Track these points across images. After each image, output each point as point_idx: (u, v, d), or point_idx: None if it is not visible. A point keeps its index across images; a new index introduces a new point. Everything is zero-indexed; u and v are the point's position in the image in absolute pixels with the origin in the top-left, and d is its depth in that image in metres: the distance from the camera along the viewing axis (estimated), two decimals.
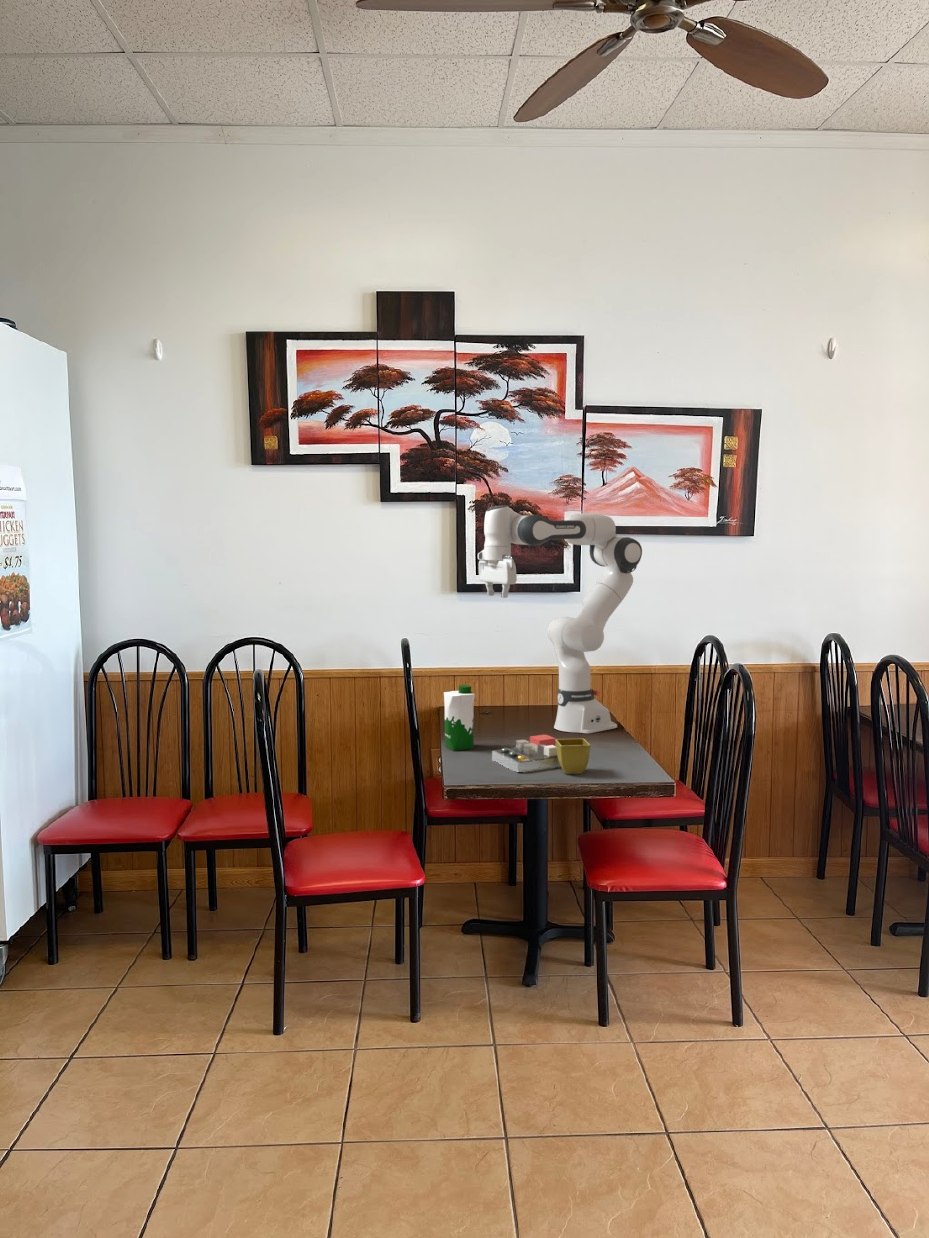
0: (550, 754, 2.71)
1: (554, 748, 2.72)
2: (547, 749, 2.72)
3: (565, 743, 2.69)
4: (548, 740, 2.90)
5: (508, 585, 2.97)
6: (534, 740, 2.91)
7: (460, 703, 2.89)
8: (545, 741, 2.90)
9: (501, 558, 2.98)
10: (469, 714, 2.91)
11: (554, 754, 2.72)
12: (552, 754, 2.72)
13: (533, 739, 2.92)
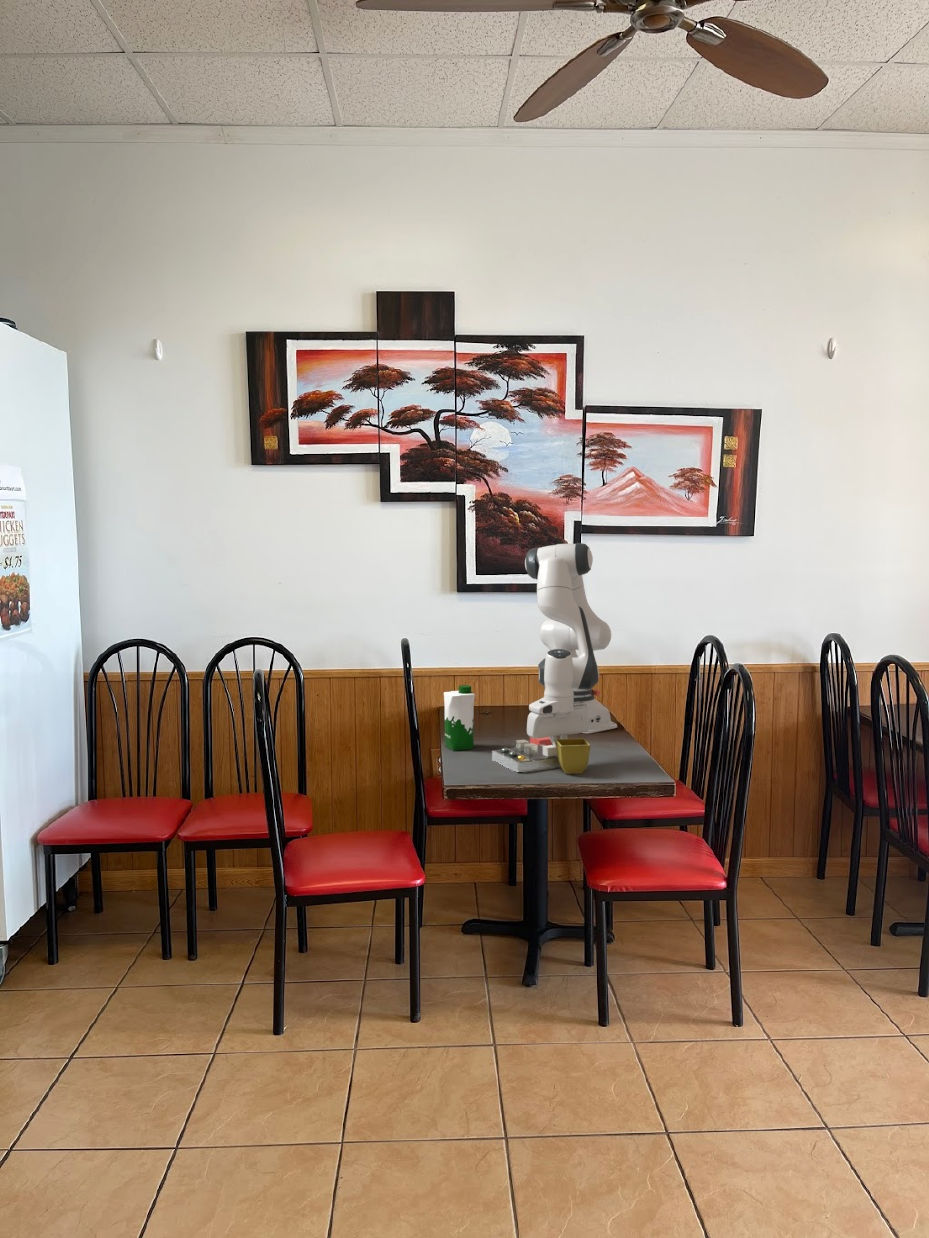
0: (549, 754, 2.71)
1: (553, 748, 2.71)
2: (546, 749, 2.71)
3: (565, 743, 2.69)
4: (548, 740, 2.90)
5: None
6: (534, 740, 2.91)
7: (460, 703, 2.89)
8: (545, 741, 2.90)
9: None
10: (469, 714, 2.91)
11: (553, 754, 2.72)
12: (551, 754, 2.71)
13: (533, 739, 2.92)
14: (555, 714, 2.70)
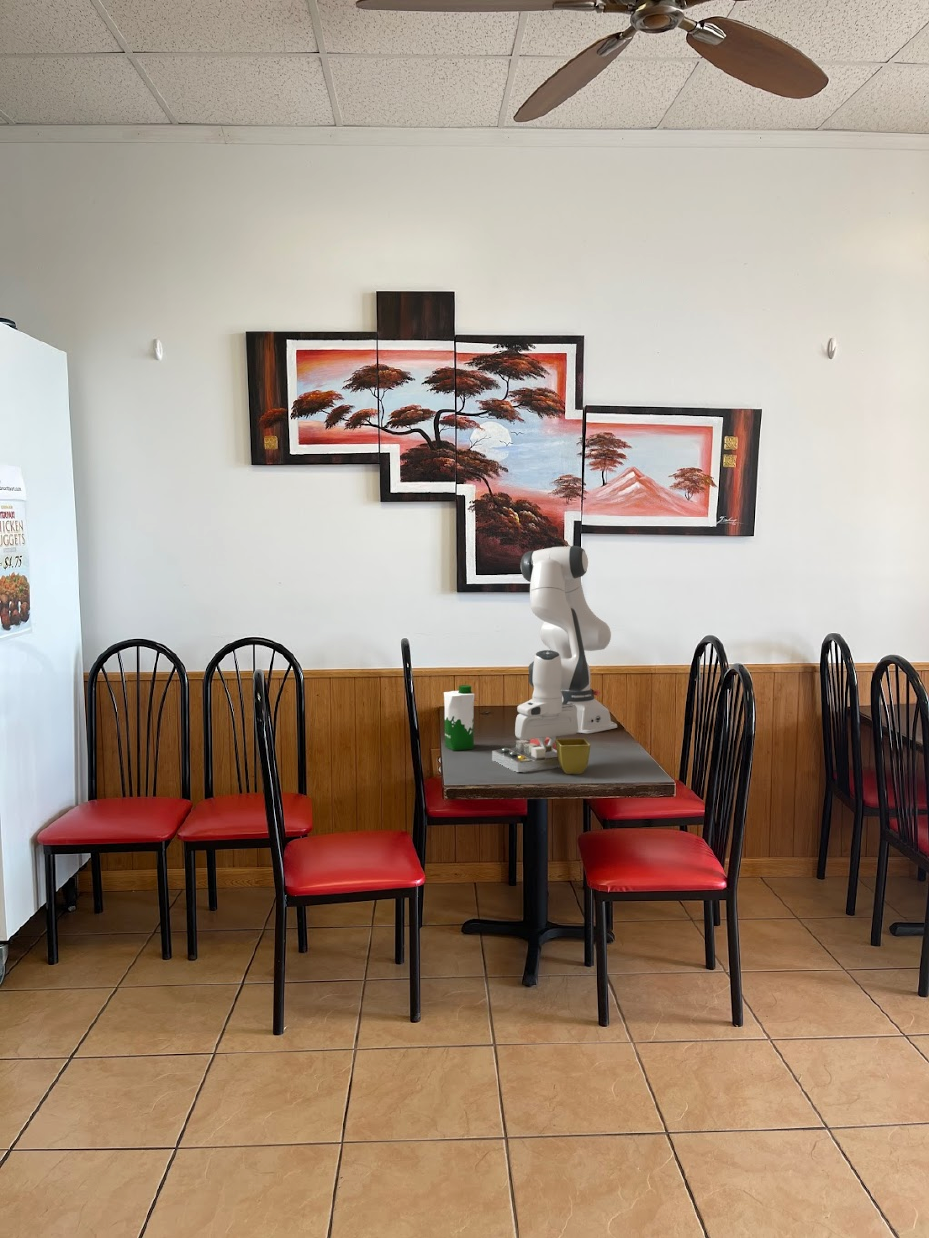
0: (537, 756, 2.69)
1: (541, 750, 2.70)
2: (534, 751, 2.70)
3: (565, 743, 2.69)
4: (548, 740, 2.90)
5: None
6: (534, 740, 2.91)
7: (460, 703, 2.89)
8: (545, 741, 2.90)
9: None
10: (469, 714, 2.91)
11: (541, 756, 2.70)
12: (539, 756, 2.70)
13: (533, 739, 2.92)
14: (543, 716, 2.68)
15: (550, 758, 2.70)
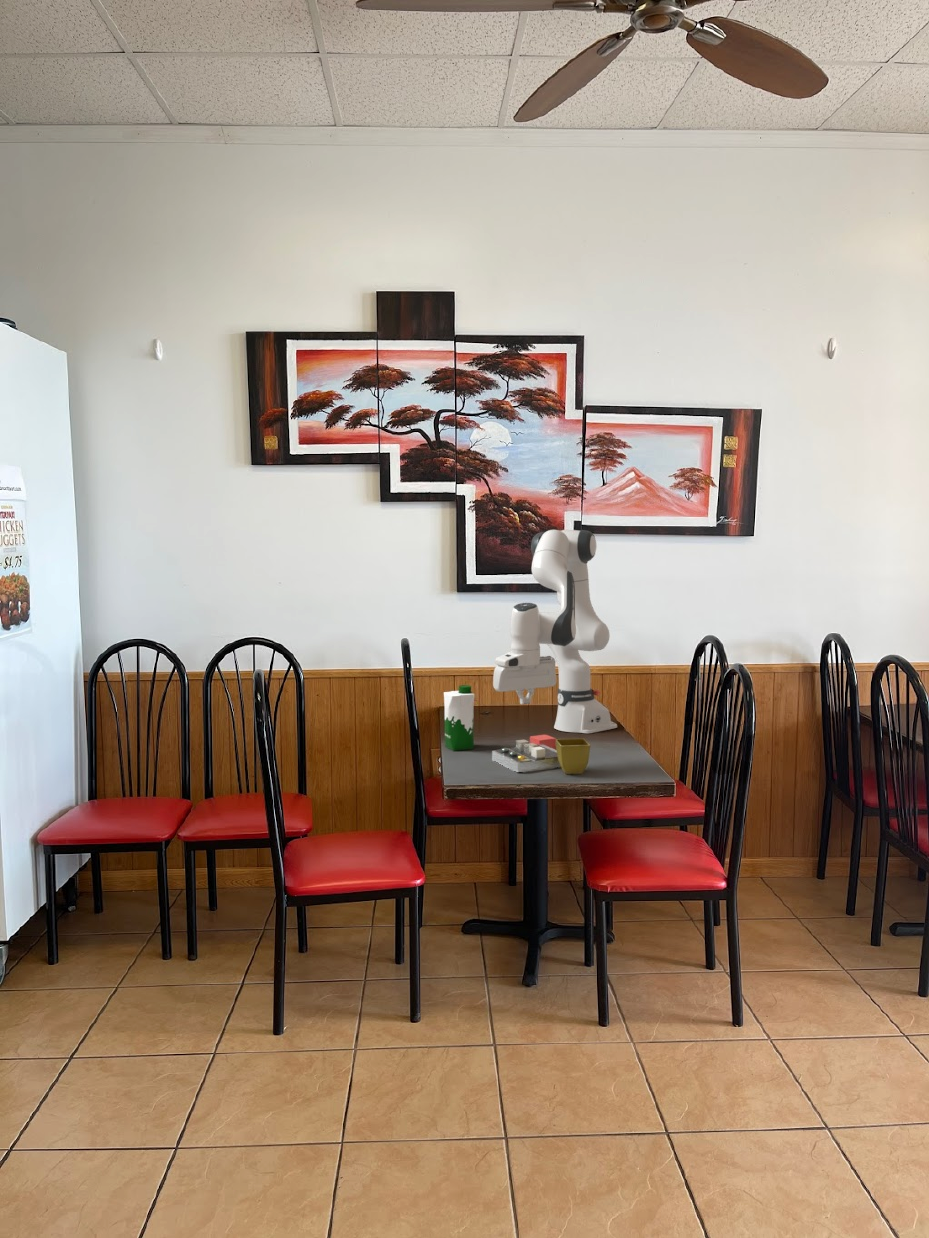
0: (537, 756, 2.69)
1: (541, 750, 2.70)
2: (534, 751, 2.70)
3: (565, 743, 2.69)
4: (548, 740, 2.90)
5: None
6: (534, 740, 2.91)
7: (460, 703, 2.89)
8: (545, 741, 2.90)
9: None
10: (469, 714, 2.91)
11: (541, 756, 2.70)
12: (539, 756, 2.70)
13: (533, 739, 2.92)
14: (521, 667, 2.69)
15: (550, 758, 2.70)
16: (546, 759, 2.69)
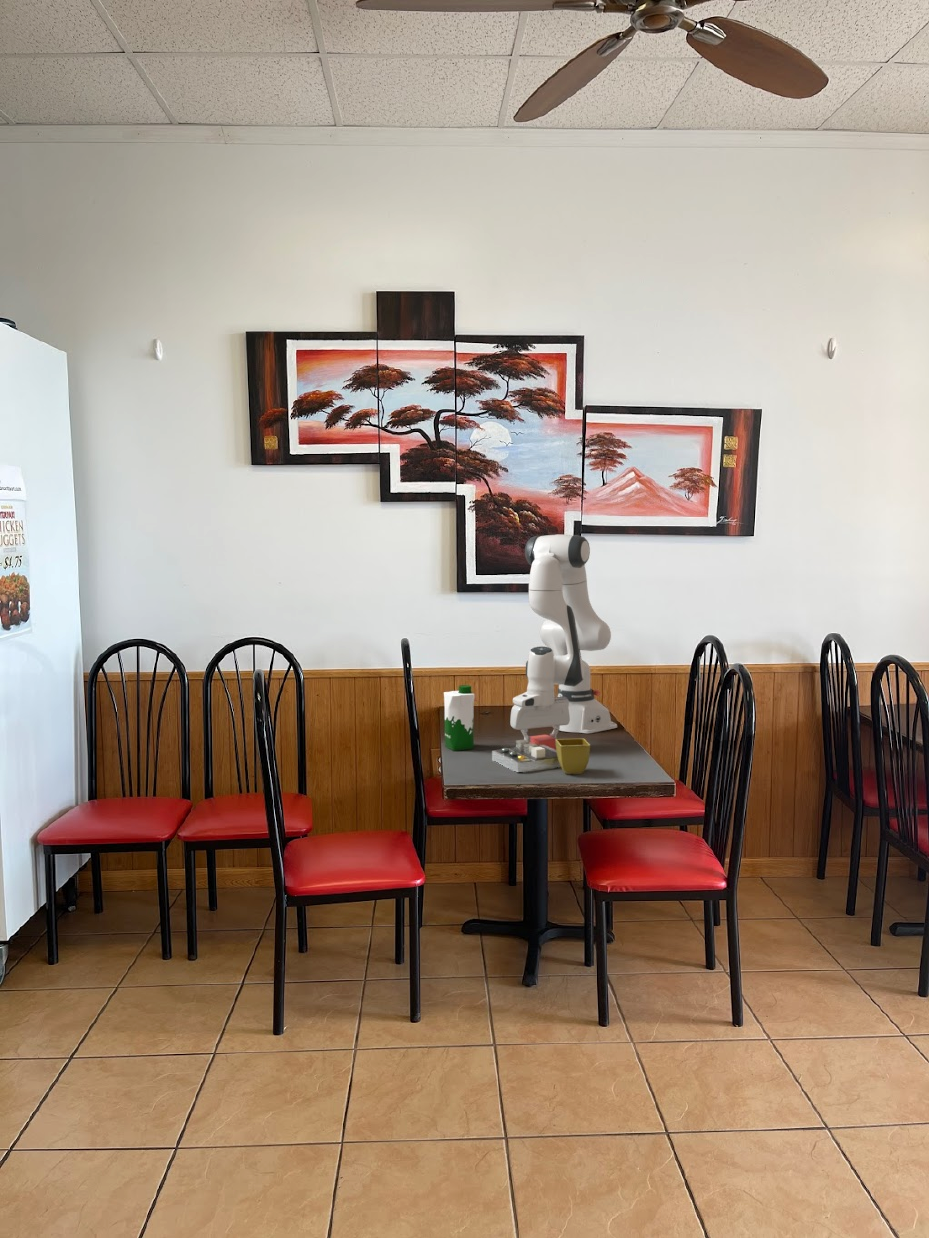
0: (537, 756, 2.69)
1: (541, 750, 2.70)
2: (534, 751, 2.70)
3: (565, 743, 2.69)
4: (548, 740, 2.90)
5: None
6: (534, 740, 2.91)
7: (460, 703, 2.89)
8: (545, 741, 2.90)
9: None
10: (469, 714, 2.91)
11: (541, 756, 2.70)
12: (539, 756, 2.70)
13: (533, 739, 2.92)
14: (537, 707, 2.89)
15: (550, 758, 2.70)
16: (546, 759, 2.69)
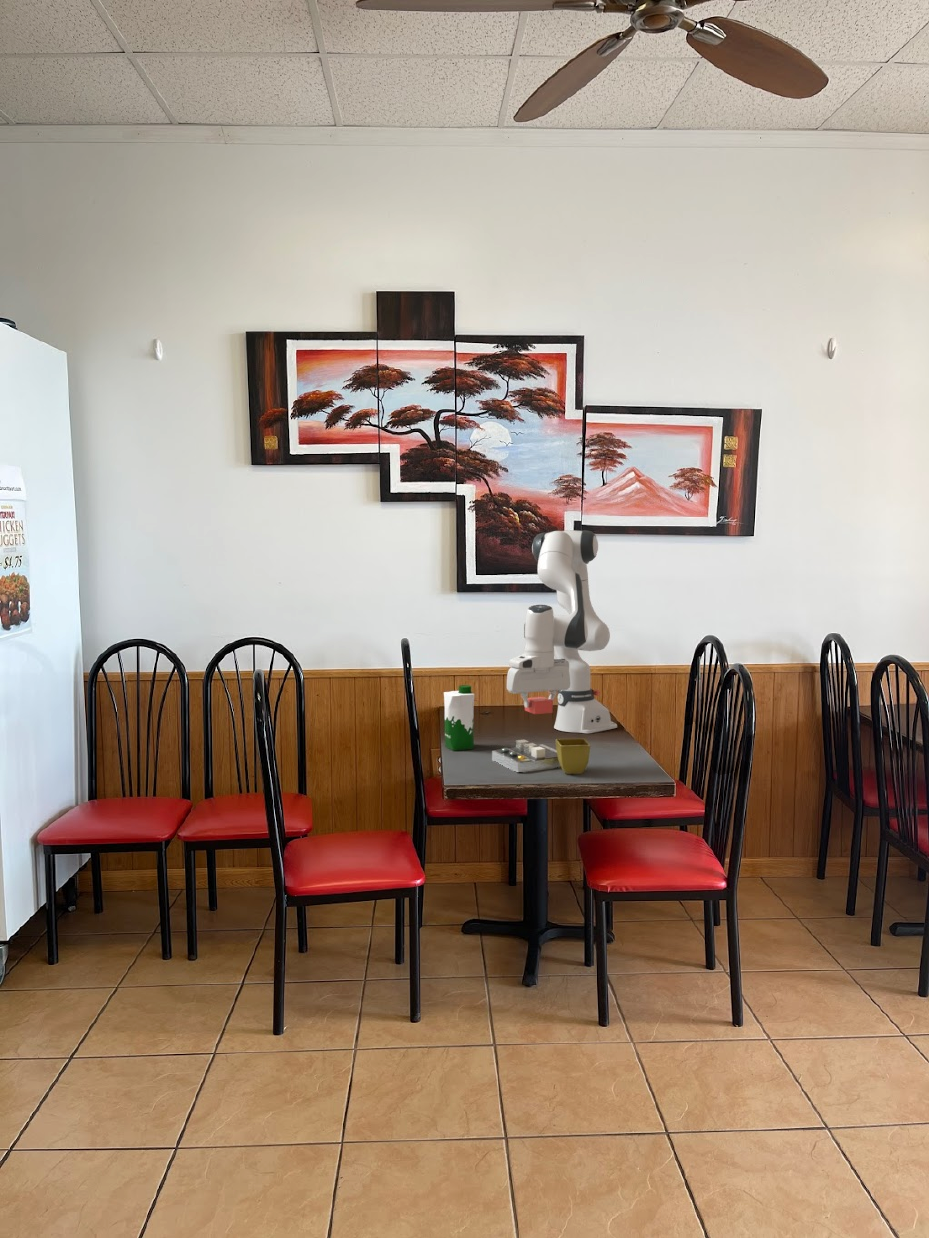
0: (537, 756, 2.69)
1: (541, 750, 2.70)
2: (534, 751, 2.70)
3: (565, 743, 2.69)
4: (545, 701, 2.68)
5: None
6: None
7: (460, 703, 2.89)
8: (541, 702, 2.68)
9: None
10: (469, 714, 2.91)
11: (541, 756, 2.70)
12: (539, 756, 2.70)
13: None
14: (535, 669, 2.67)
15: (550, 758, 2.70)
16: (546, 759, 2.69)
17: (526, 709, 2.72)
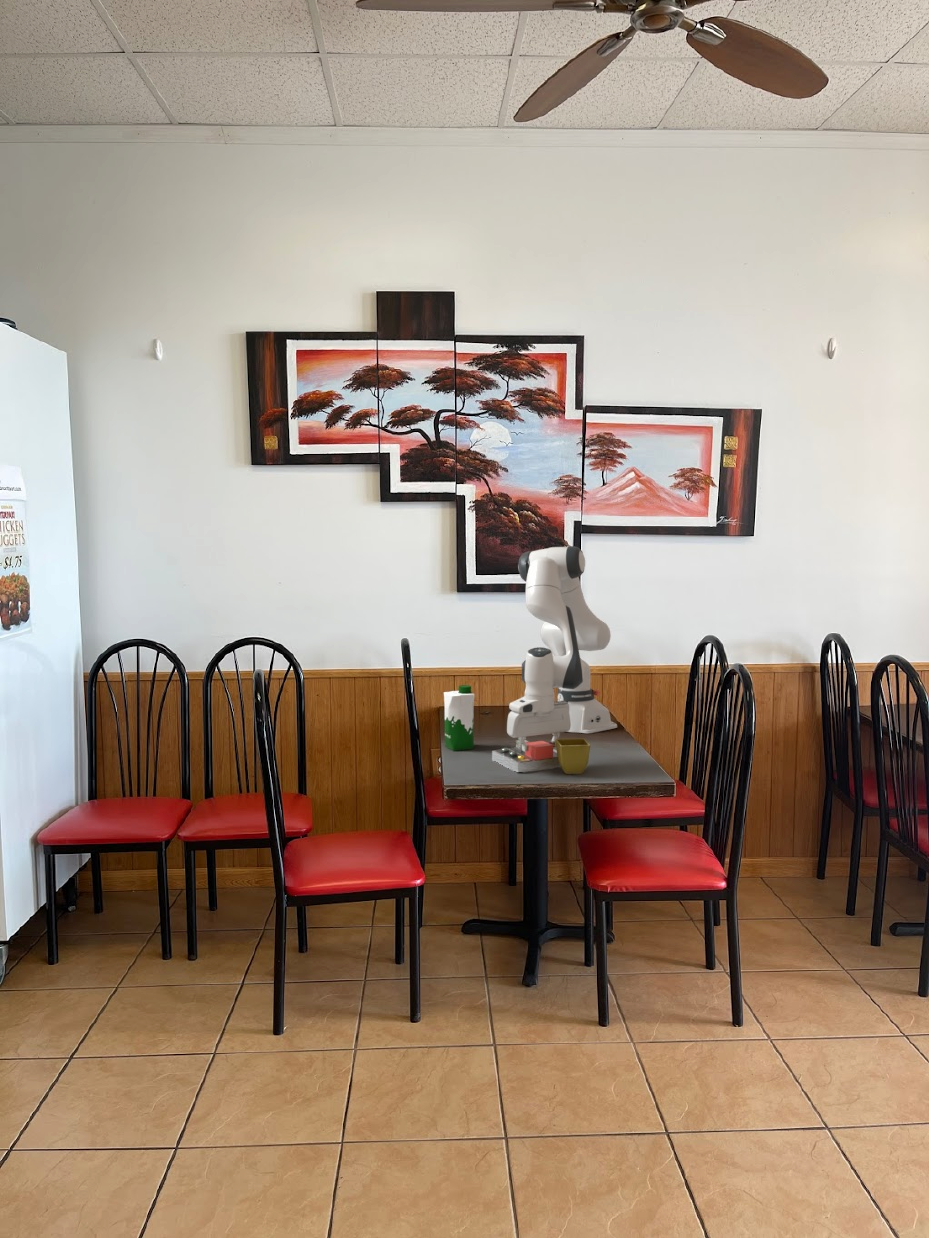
0: None
1: None
2: None
3: (565, 743, 2.69)
4: (545, 747, 2.68)
5: None
6: (530, 747, 2.70)
7: (460, 703, 2.89)
8: (542, 748, 2.68)
9: None
10: (469, 714, 2.91)
11: None
12: None
13: (529, 746, 2.70)
14: (535, 713, 2.67)
15: (550, 758, 2.70)
16: (546, 759, 2.69)
17: (527, 754, 2.72)
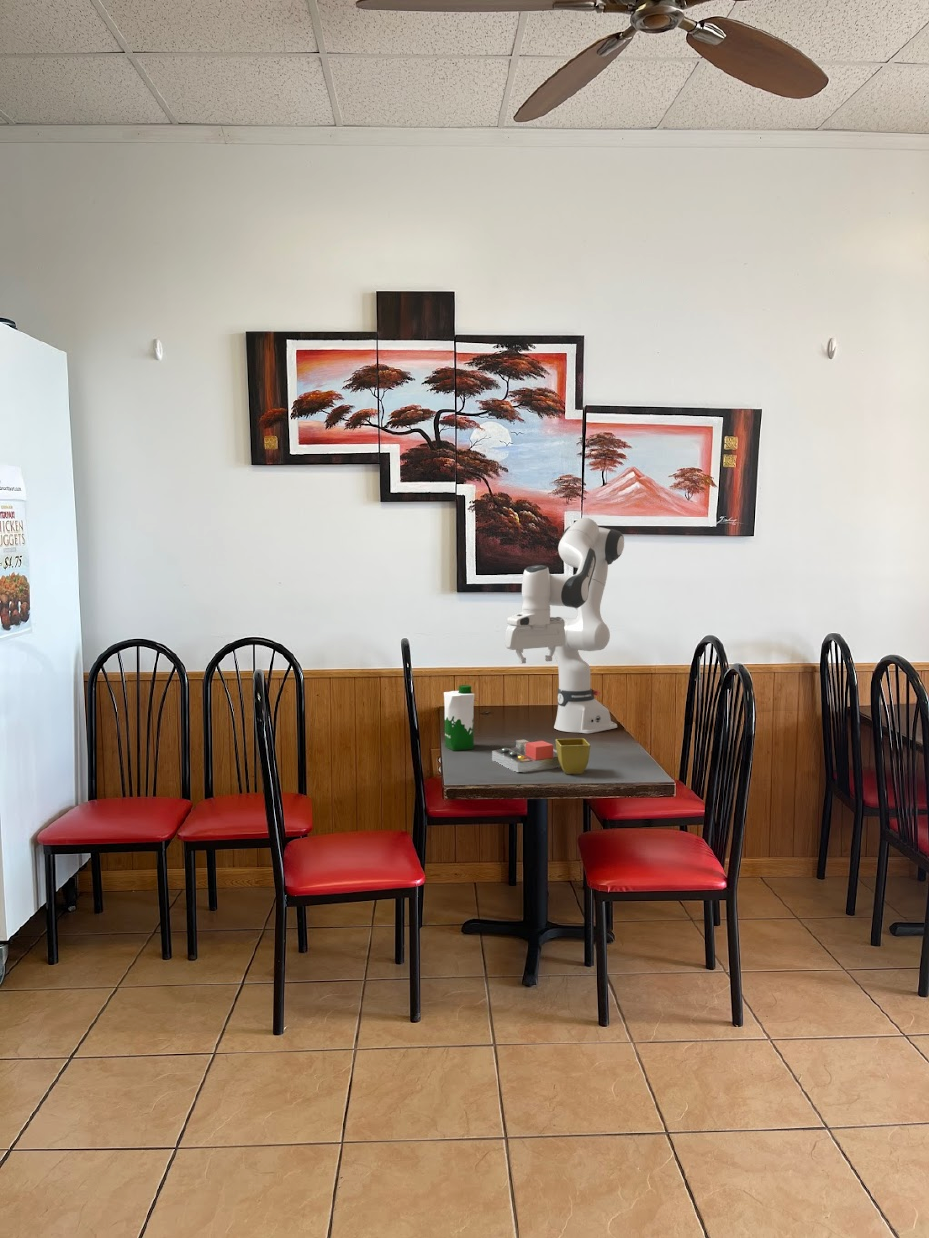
0: None
1: None
2: None
3: (565, 743, 2.69)
4: (545, 747, 2.68)
5: None
6: (530, 747, 2.70)
7: (460, 703, 2.89)
8: (542, 748, 2.68)
9: None
10: (469, 714, 2.91)
11: None
12: None
13: (529, 746, 2.70)
14: (532, 627, 2.80)
15: (550, 758, 2.70)
16: (546, 759, 2.69)
17: (527, 754, 2.72)
